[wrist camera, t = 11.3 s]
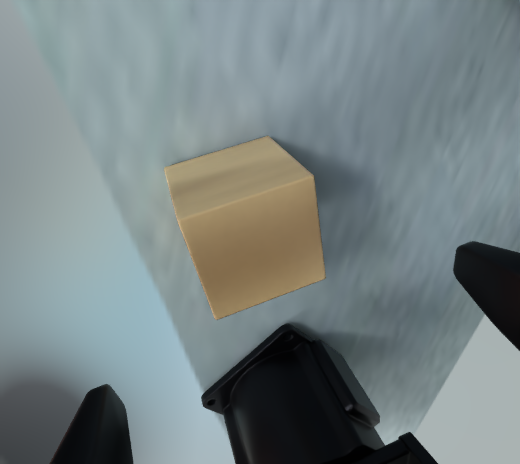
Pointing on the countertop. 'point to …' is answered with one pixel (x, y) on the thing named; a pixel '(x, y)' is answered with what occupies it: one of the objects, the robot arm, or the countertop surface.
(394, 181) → the countertop surface
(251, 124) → the countertop surface
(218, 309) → the block
